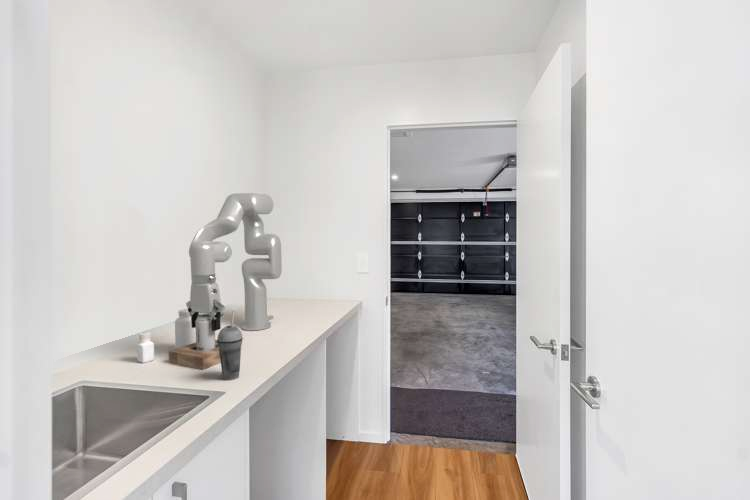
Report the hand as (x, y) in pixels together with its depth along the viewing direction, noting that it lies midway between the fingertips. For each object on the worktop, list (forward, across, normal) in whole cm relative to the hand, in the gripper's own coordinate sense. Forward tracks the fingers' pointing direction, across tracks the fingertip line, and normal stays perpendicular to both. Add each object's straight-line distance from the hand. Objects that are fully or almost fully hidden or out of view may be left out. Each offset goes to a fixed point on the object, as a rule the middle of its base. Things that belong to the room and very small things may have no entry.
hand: (206, 328), depth 132 cm
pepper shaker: (+10, +17, +11) cm, 23 cm away
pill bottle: (+11, +14, -3) cm, 18 cm away
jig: (+10, 0, +1) cm, 10 cm away
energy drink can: (+10, 0, +1) cm, 11 cm away
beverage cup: (+10, -21, +10) cm, 26 cm away
